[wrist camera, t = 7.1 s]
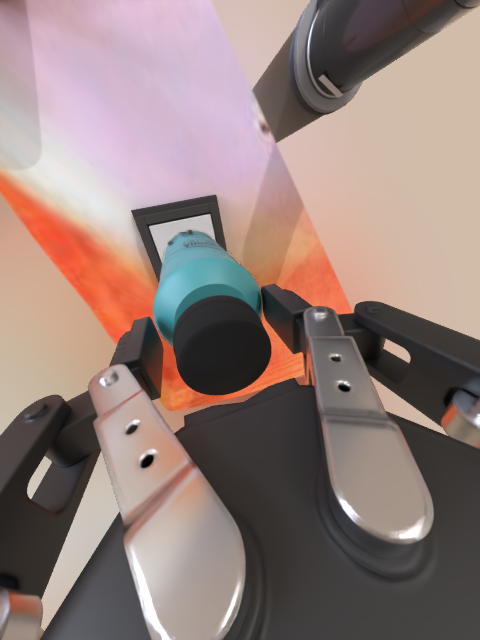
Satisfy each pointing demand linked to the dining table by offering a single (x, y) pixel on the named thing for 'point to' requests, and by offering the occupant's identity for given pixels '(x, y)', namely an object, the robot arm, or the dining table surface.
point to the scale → (173, 213)
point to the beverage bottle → (210, 315)
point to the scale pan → (179, 230)
